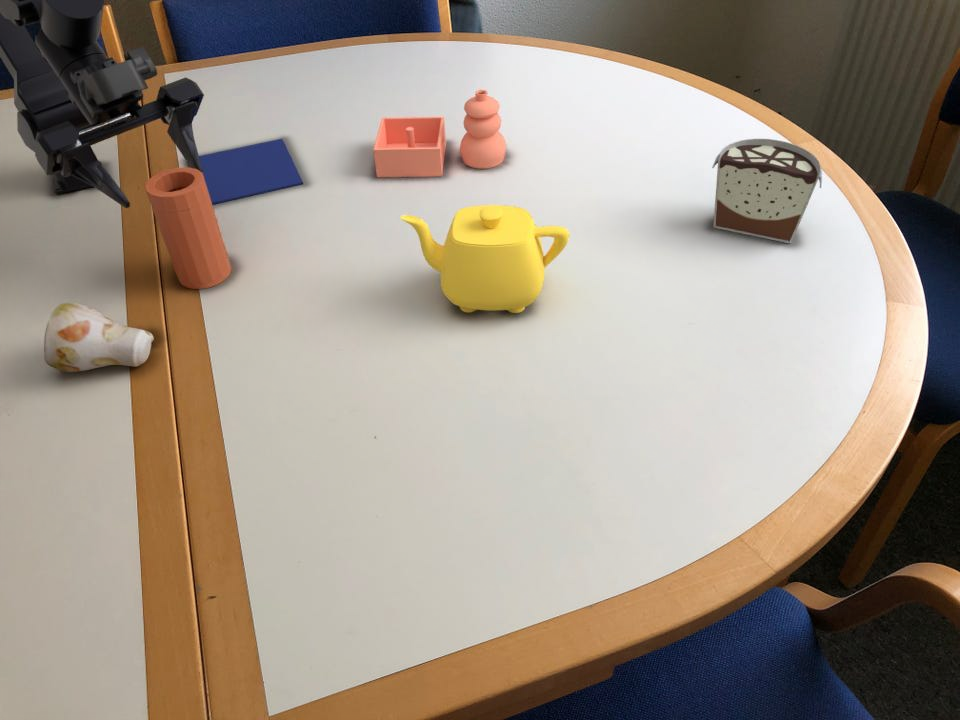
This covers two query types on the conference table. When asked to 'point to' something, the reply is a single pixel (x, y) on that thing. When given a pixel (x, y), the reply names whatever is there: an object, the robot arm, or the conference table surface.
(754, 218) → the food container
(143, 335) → the fruit patterned vase
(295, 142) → the conference table surface
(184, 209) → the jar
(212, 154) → the napkin
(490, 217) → the teapot
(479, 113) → the pottery
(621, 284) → the conference table surface
